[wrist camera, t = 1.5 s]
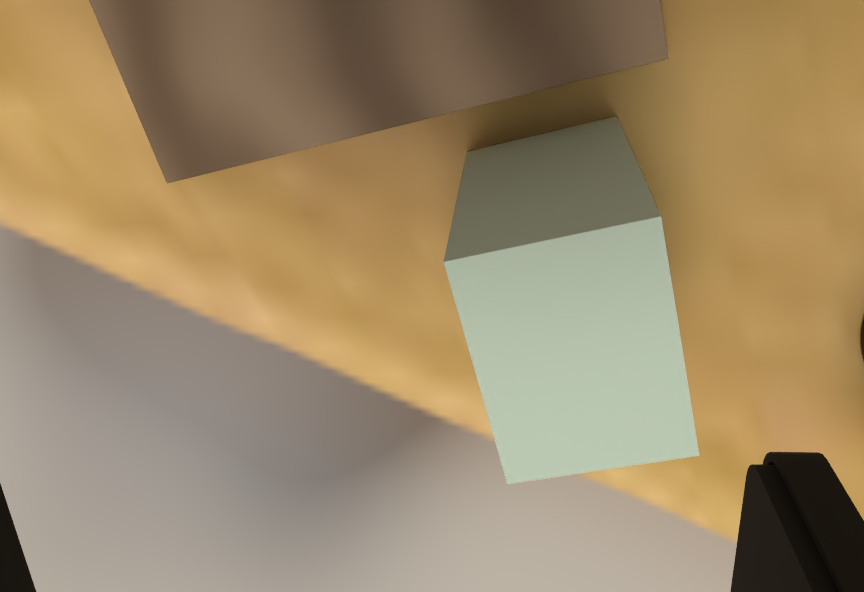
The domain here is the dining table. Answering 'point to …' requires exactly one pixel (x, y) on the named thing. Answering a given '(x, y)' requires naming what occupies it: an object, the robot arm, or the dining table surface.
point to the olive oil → (862, 340)
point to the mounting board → (348, 65)
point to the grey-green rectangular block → (569, 305)
